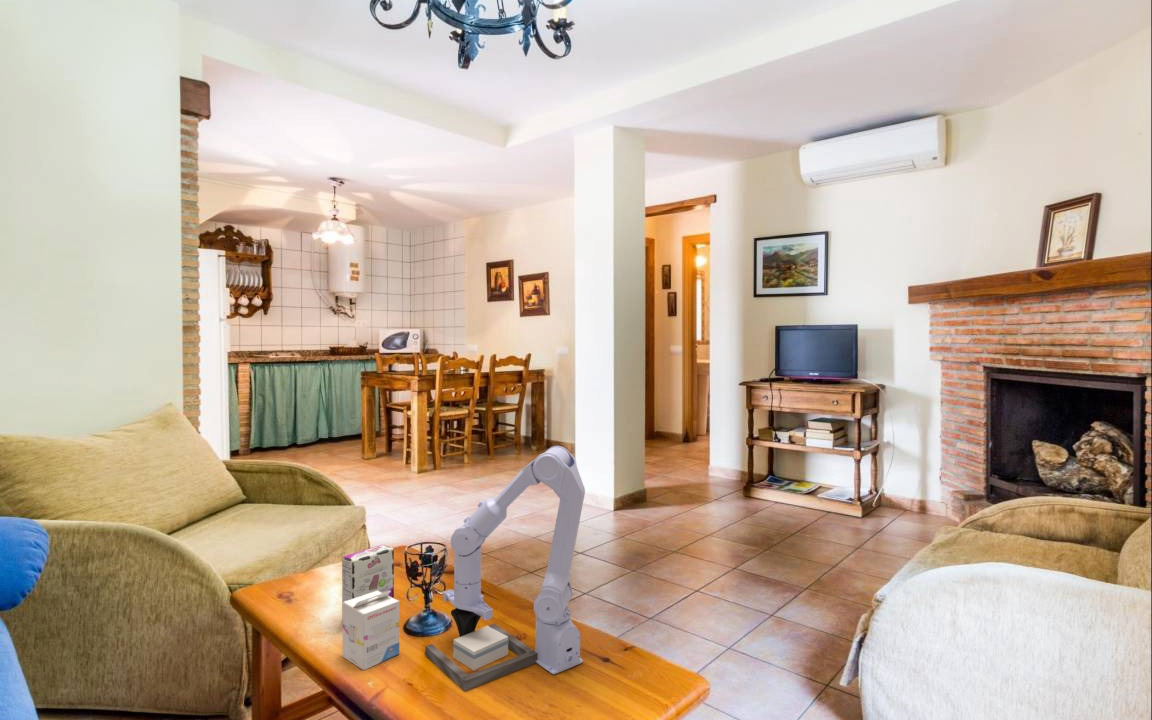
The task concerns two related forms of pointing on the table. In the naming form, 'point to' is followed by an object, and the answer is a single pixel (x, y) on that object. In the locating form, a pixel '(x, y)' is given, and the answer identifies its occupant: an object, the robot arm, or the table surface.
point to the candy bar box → (368, 573)
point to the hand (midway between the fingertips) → (466, 642)
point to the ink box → (370, 629)
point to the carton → (480, 647)
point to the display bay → (487, 674)
